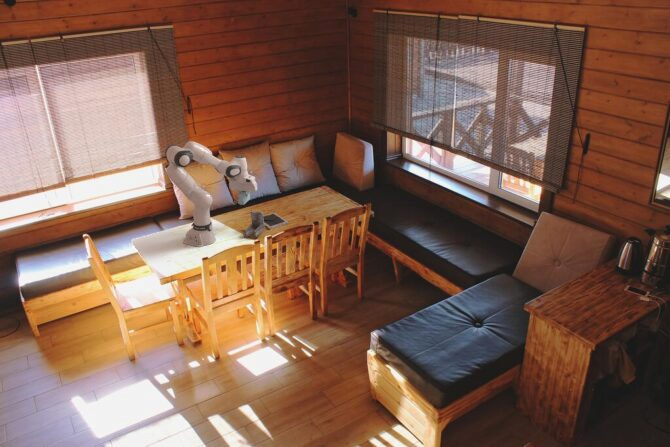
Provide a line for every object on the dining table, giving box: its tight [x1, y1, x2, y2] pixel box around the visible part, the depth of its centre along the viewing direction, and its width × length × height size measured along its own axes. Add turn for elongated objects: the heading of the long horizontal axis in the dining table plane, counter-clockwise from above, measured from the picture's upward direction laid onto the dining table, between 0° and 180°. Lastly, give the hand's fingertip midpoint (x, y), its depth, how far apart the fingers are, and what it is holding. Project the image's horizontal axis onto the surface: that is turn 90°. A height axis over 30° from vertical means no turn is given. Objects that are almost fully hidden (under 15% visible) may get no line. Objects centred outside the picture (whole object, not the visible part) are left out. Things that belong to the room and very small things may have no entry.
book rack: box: [243, 210, 266, 240], centre depth 405 cm, size 10×15×14 cm, turn 164°
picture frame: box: [263, 212, 289, 230], centre depth 424 cm, size 16×3×21 cm
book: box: [237, 191, 251, 206], centre depth 408 cm, size 4×11×8 cm, turn 164°
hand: (244, 196), depth 408 cm, fingers closed on book, 3 cm apart
